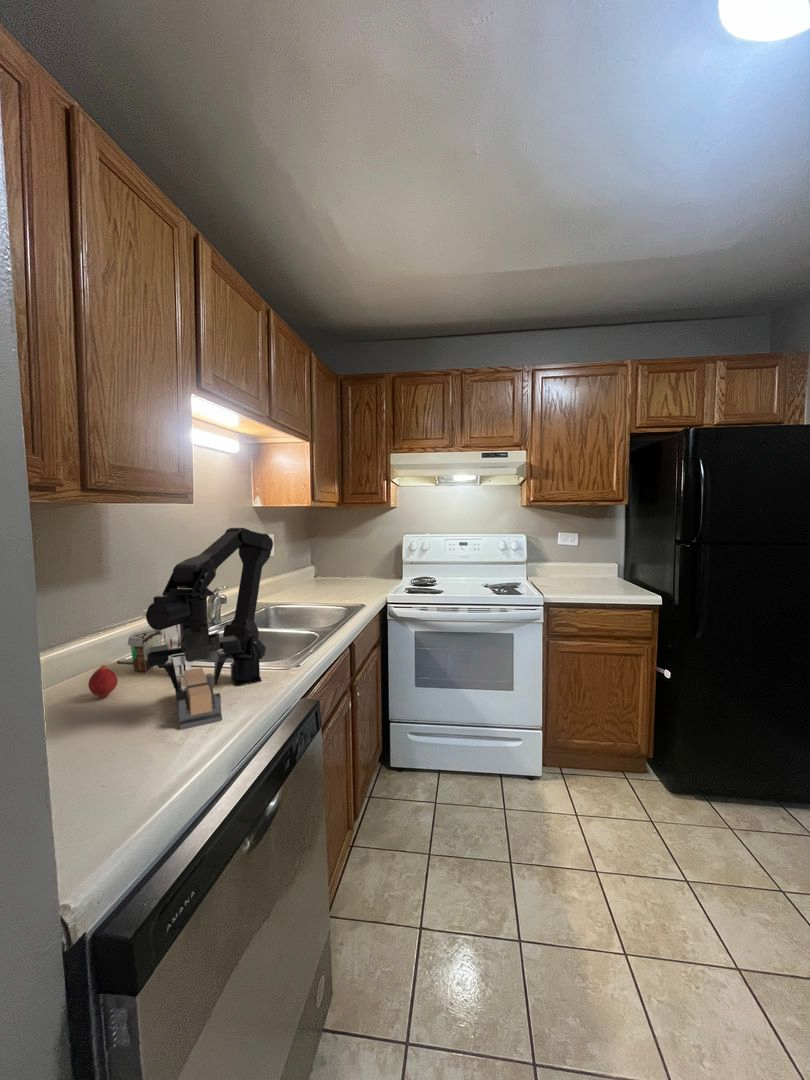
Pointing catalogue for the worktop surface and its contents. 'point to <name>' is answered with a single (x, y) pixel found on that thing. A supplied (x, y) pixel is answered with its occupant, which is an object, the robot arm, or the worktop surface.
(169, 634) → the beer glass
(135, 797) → the worktop surface
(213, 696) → the collar stand
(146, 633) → the food container
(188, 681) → the banded tan post
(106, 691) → the onion
